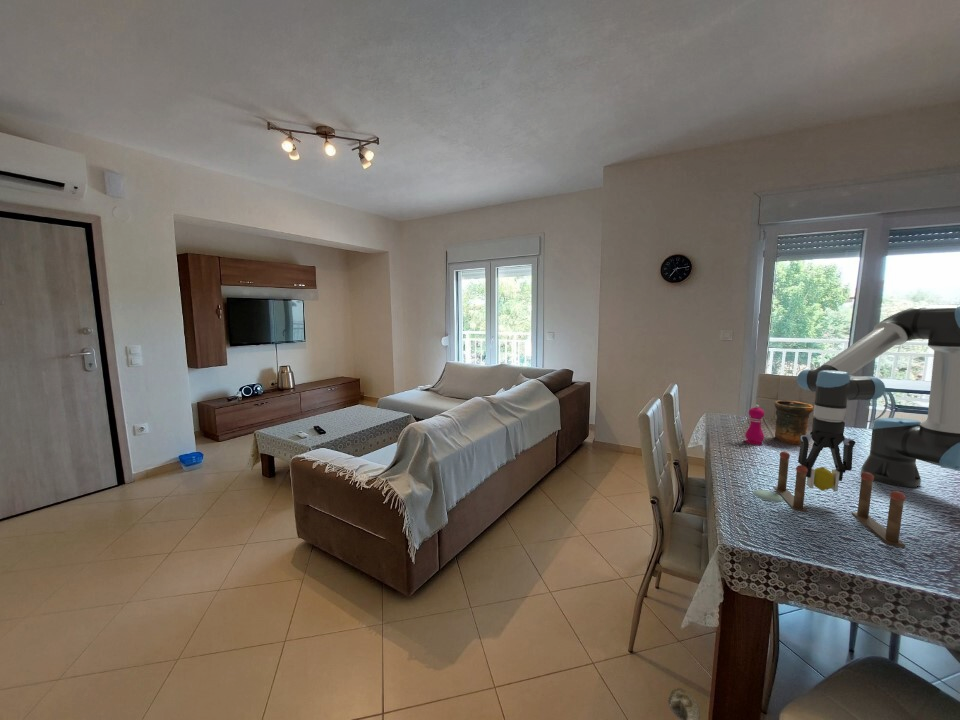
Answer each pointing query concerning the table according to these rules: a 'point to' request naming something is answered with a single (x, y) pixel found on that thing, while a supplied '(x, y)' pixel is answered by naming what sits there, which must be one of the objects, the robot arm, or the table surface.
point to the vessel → (791, 421)
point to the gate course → (862, 515)
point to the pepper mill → (755, 426)
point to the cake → (683, 705)
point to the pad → (768, 495)
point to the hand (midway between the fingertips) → (821, 488)
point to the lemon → (823, 479)
